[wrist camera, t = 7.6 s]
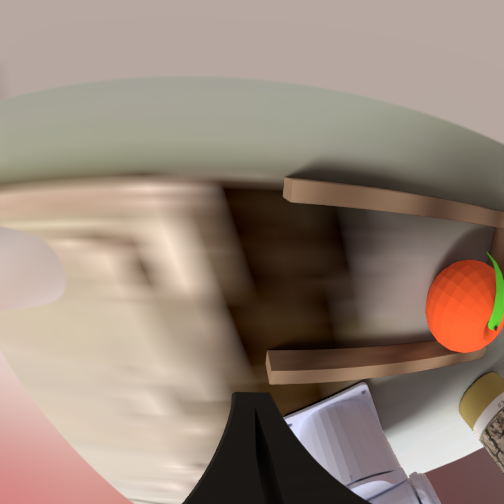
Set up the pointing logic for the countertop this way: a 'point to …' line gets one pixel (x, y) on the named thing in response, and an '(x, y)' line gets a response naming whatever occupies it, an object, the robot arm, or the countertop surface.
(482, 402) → the paper tube
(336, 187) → the holder
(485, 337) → the clementine
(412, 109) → the countertop surface
